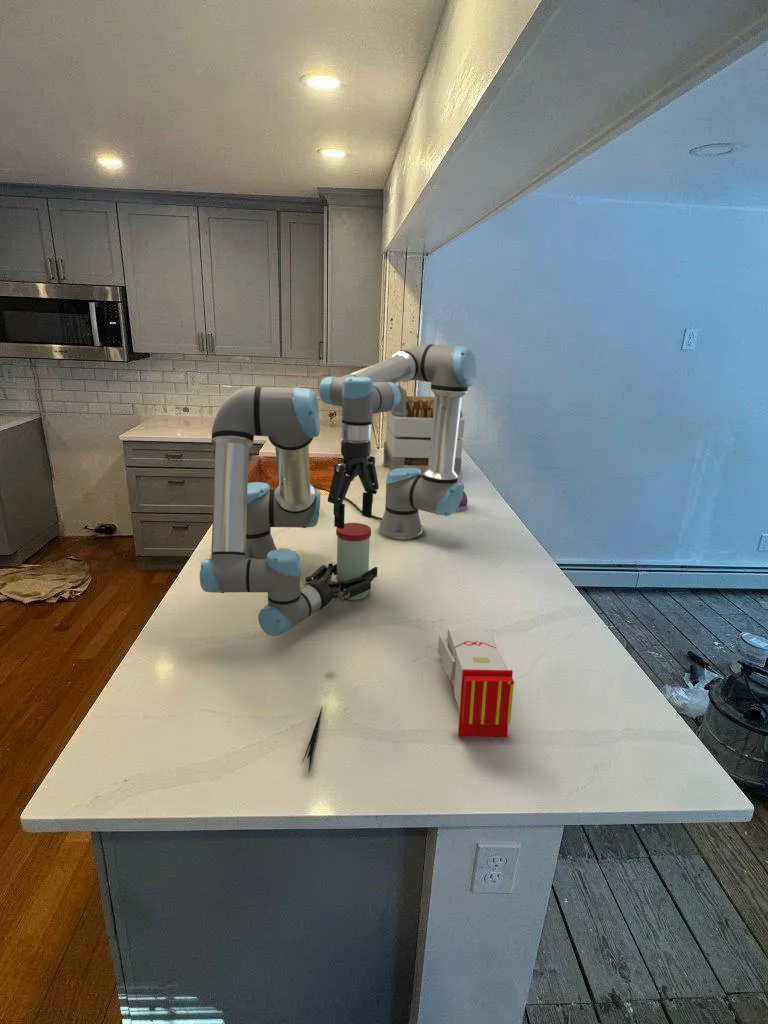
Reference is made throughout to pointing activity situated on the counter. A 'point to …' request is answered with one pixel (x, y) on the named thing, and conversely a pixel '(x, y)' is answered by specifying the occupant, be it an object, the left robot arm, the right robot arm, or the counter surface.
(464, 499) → the figurine
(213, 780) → the counter surface
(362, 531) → the lid
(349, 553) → the jar
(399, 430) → the grey slatted crate
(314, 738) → the feather
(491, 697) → the toy
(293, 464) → the left robot arm
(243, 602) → the counter surface
